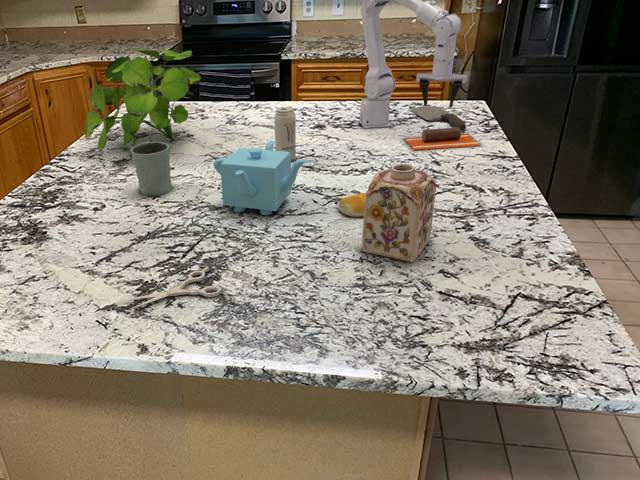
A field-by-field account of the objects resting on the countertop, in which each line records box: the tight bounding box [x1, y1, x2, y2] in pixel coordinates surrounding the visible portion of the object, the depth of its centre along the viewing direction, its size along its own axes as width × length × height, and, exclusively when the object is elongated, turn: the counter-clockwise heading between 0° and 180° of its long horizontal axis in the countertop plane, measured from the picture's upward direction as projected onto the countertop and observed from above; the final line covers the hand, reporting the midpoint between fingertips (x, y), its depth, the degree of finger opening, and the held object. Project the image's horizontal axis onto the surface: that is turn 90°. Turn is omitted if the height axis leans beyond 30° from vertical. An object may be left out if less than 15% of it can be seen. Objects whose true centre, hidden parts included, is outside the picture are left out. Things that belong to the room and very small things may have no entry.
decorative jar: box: [361, 163, 437, 263], centre depth 127 cm, size 12×12×18 cm
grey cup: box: [130, 141, 172, 197], centre depth 164 cm, size 10×10×12 cm
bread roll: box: [338, 192, 366, 218], centre depth 148 cm, size 8×9×4 cm
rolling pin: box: [421, 127, 462, 142], centre depth 187 cm, size 11×4×4 cm, turn 94°
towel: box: [403, 133, 481, 152], centre depth 187 cm, size 20×11×1 cm, turn 93°
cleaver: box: [411, 105, 467, 131], centre depth 207 cm, size 30×10×2 cm, turn 9°
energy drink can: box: [274, 106, 297, 162], centre depth 178 cm, size 6×6×15 cm
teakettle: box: [213, 140, 310, 216], centre depth 150 cm, size 19×19×15 cm
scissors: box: [121, 266, 222, 311], centre depth 119 cm, size 11×1×20 cm
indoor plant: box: [84, 48, 202, 151], centre depth 196 cm, size 44×42×30 cm
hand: (438, 105), depth 189 cm, fingers open, 7 cm apart
